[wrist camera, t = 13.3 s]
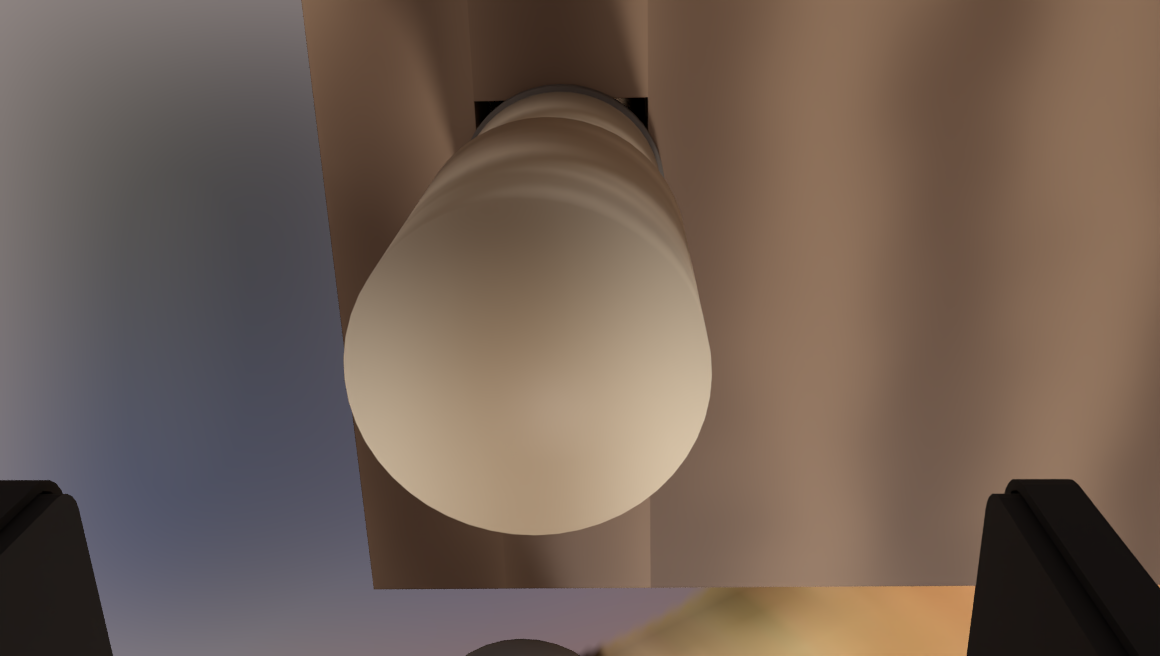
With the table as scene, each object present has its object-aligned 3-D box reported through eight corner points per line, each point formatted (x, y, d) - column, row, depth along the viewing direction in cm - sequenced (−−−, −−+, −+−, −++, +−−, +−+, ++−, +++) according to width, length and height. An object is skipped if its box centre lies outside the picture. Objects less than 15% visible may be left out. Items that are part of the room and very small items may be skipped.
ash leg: (667, 56, 27) (715, 194, 14) (667, 254, 29) (708, 533, 16) (460, 62, 27) (322, 202, 14) (474, 258, 29) (364, 536, 16)
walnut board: (1289, -99, 26) (1370, -100, 23) (1160, 526, 33) (1210, 584, 30) (326, -69, 27) (293, -67, 24) (393, 532, 34) (374, 589, 31)
